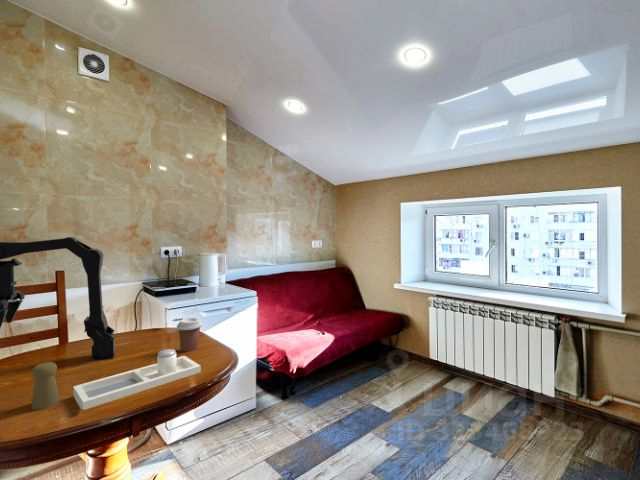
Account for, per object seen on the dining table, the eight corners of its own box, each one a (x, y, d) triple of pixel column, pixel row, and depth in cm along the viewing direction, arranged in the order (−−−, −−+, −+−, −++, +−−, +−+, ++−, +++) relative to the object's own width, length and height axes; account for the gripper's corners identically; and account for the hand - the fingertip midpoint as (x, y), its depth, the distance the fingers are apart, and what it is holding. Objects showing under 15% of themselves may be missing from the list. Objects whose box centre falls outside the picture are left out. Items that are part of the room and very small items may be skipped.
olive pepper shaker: (28, 412, 88) (26, 370, 87) (34, 401, 93) (33, 361, 93) (57, 406, 91) (56, 366, 90) (61, 396, 96) (60, 358, 96)
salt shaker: (176, 369, 112) (176, 347, 112) (176, 376, 107) (176, 353, 107) (157, 372, 110) (157, 350, 110) (157, 379, 105) (156, 356, 104)
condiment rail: (184, 364, 119) (184, 355, 119) (200, 374, 110) (200, 365, 110) (73, 396, 96) (73, 386, 96) (83, 413, 87) (83, 402, 87)
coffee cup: (171, 353, 129) (171, 321, 128) (189, 345, 137) (188, 316, 137) (190, 356, 125) (189, 324, 125) (207, 348, 134) (206, 318, 133)
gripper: (-17, 276, 116) (-16, 321, 117) (-47, 285, 100) (-46, 338, 100) (24, 275, 121) (25, 318, 122) (2, 283, 104) (3, 333, 105)
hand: (3, 326), depth 112 cm, fingers open, 9 cm apart
